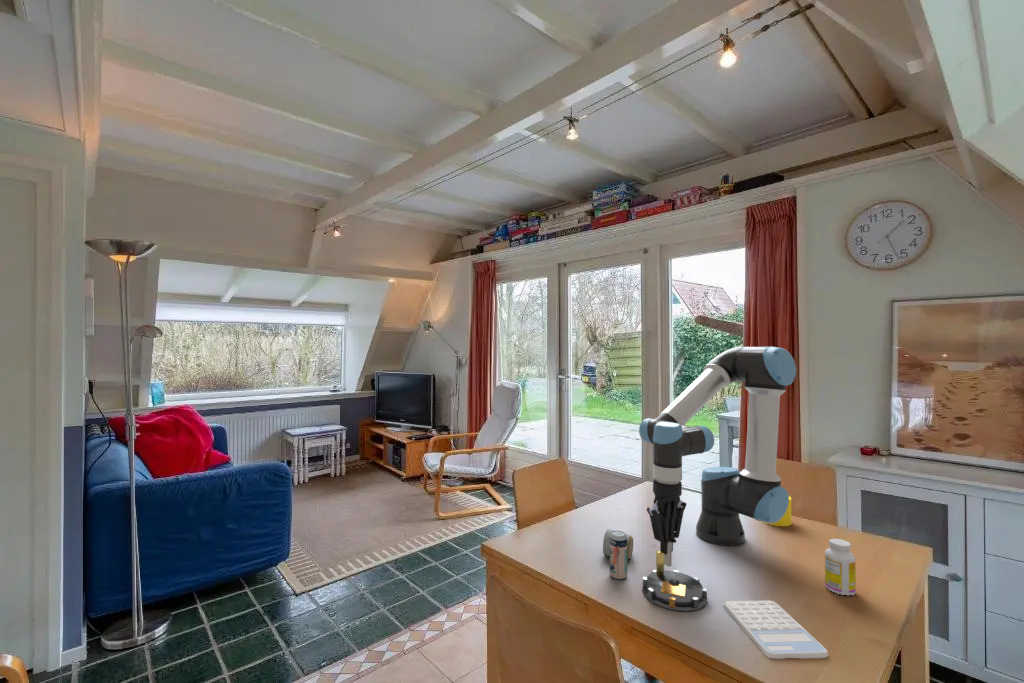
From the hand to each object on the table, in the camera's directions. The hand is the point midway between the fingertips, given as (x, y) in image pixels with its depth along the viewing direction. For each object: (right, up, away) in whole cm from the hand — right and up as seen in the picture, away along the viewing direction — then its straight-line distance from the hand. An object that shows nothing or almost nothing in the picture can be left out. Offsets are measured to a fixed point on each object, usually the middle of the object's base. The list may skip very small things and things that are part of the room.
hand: (666, 564), depth 129 cm
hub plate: (0, -5, -7) cm, 8 cm away
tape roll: (+54, -5, +43) cm, 70 cm away
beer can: (-13, -5, +3) cm, 14 cm away
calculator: (+17, -5, -21) cm, 28 cm away
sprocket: (0, -5, -7) cm, 8 cm away
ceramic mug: (-10, -5, +16) cm, 19 cm away
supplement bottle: (+45, -5, -5) cm, 45 cm away
